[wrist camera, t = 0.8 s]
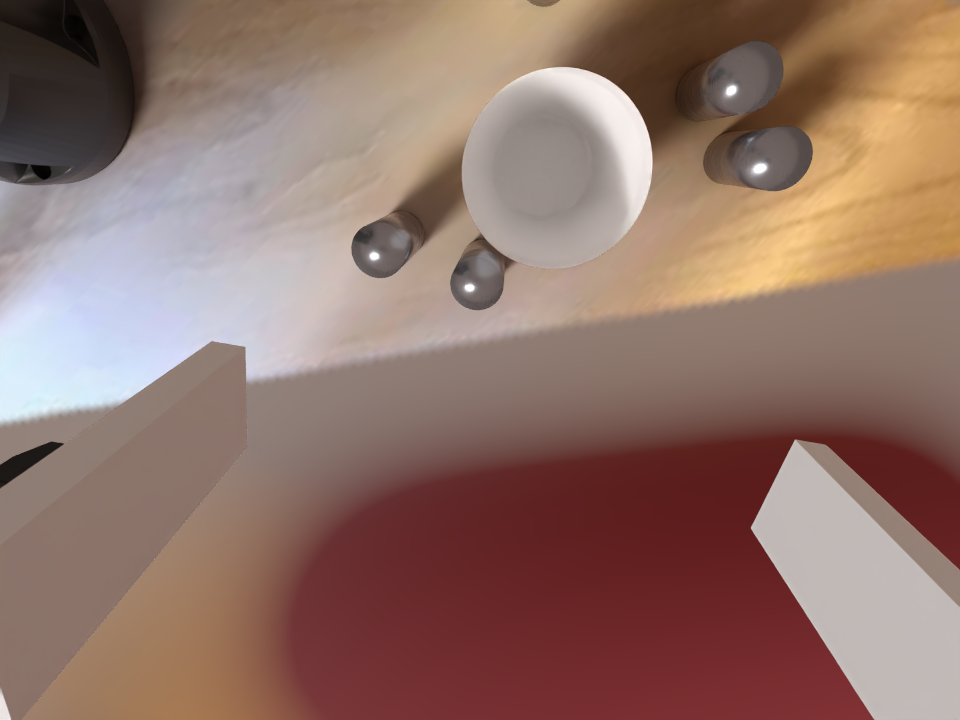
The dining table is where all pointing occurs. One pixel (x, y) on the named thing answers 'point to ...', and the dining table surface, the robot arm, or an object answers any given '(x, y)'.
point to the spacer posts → (728, 160)
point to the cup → (557, 168)
